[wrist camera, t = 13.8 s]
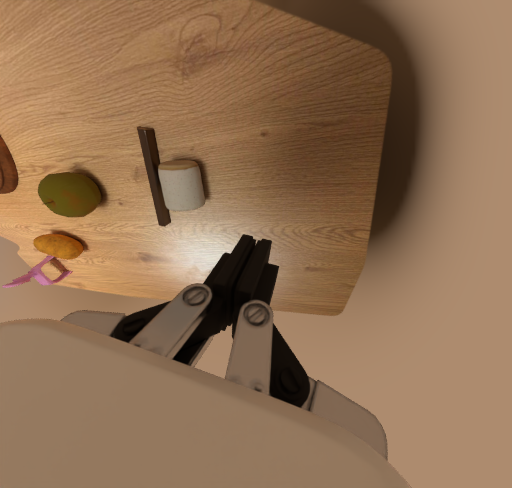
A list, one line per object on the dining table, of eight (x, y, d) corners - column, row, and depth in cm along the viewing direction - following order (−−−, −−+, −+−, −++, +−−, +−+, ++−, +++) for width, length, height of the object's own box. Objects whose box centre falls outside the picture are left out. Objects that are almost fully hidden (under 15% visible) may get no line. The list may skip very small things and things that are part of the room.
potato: (48, 225, 62) (21, 236, 57) (85, 236, 61) (61, 249, 55) (58, 242, 67) (34, 254, 61) (93, 254, 65) (72, 267, 59)
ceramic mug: (205, 158, 37) (181, 167, 31) (212, 199, 41) (192, 215, 35) (158, 157, 39) (128, 165, 33) (169, 196, 44) (144, 210, 38)
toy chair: (63, 273, 78) (17, 302, 66) (46, 256, 74) (-7, 284, 62) (75, 272, 75) (28, 302, 63) (57, 254, 71) (4, 282, 59)
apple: (66, 170, 48) (9, 183, 39) (93, 164, 44) (37, 177, 36) (91, 208, 53) (46, 227, 44) (117, 205, 50) (73, 225, 41)
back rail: (153, 128, 36) (144, 129, 34) (170, 222, 48) (164, 226, 46) (139, 126, 37) (129, 127, 35) (159, 219, 48) (153, 223, 46)
